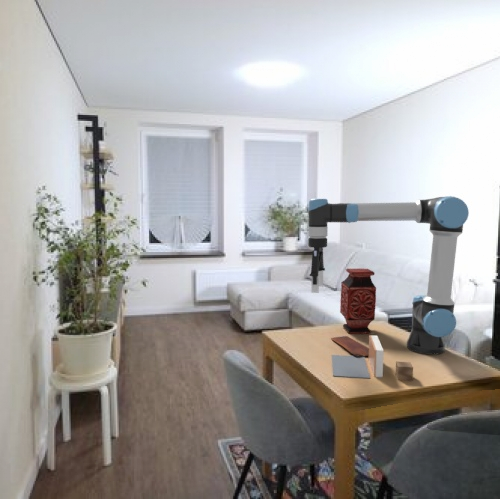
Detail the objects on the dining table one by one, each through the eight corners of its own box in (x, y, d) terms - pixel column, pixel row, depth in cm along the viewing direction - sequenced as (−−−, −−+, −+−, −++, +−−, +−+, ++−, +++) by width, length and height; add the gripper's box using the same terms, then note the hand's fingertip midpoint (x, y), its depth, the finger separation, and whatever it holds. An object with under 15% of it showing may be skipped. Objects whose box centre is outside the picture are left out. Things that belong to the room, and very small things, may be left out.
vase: (375, 334, 208) (377, 272, 205) (346, 334, 207) (348, 272, 204) (366, 326, 222) (367, 267, 218) (339, 326, 221) (340, 268, 218)
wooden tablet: (377, 356, 178) (377, 352, 177) (355, 357, 175) (355, 353, 175) (349, 337, 203) (349, 333, 203) (329, 338, 201) (329, 335, 201)
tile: (376, 359, 174) (377, 335, 173) (382, 377, 157) (383, 350, 156) (368, 359, 175) (369, 335, 174) (373, 377, 157) (374, 350, 156)
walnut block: (409, 375, 159) (410, 362, 158) (412, 381, 154) (413, 367, 153) (395, 374, 159) (395, 361, 159) (397, 380, 154) (398, 366, 154)
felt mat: (364, 357, 177) (364, 356, 177) (370, 378, 155) (370, 377, 155) (331, 355, 179) (331, 354, 179) (333, 376, 157) (333, 375, 157)
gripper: (313, 235, 189) (312, 283, 191) (303, 239, 165) (303, 294, 167) (330, 235, 186) (330, 284, 189) (323, 239, 163) (322, 295, 165)
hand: (317, 289), depth 178 cm, fingers open, 13 cm apart
